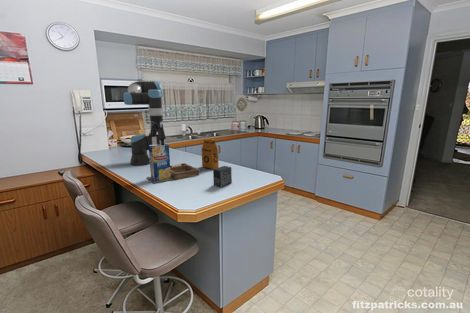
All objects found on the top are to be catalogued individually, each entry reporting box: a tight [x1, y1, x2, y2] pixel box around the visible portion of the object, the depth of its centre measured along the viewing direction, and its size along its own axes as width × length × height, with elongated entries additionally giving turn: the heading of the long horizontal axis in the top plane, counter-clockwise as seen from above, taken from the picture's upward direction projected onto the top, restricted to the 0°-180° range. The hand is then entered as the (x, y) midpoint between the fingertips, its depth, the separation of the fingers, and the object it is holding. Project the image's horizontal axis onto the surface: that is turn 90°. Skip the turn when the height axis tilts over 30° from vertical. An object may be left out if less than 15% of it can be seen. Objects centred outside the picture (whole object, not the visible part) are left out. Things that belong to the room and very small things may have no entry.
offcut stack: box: [170, 163, 182, 168], centre depth 183 cm, size 4×10×4 cm, turn 121°
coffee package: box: [201, 138, 220, 170], centre depth 190 cm, size 10×12×22 cm
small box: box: [212, 165, 233, 188], centre depth 154 cm, size 11×6×10 cm, turn 141°
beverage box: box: [148, 143, 171, 181], centre depth 163 cm, size 7×11×22 cm, turn 127°
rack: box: [170, 162, 200, 181], centre depth 177 cm, size 22×17×4 cm
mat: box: [146, 176, 176, 185], centre depth 165 cm, size 14×14×1 cm
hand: (158, 148), depth 161 cm, fingers open, 13 cm apart
